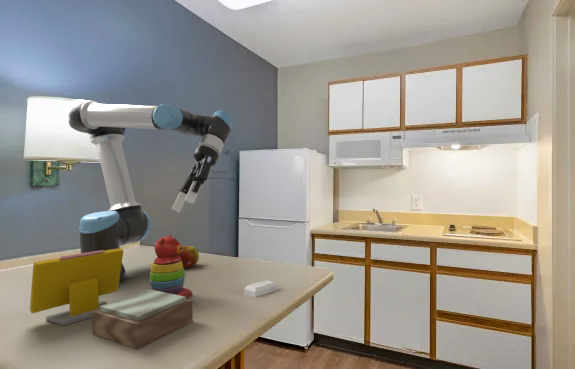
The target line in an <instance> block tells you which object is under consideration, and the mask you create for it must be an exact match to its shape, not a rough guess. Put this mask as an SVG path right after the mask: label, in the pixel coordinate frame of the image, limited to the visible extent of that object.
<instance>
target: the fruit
mask: <svg viewBox="0 0 575 369" xmlns="http://www.w3.org/2000/svg"><path fill="white" fill-rule="evenodd" d="M178 256H179V257H180V258H181V261H182V264H183V268H184V269H189V268H192V267H194V266H195V265H196V264H197V263H198V262H199V259H200V258H199V257H200V255H199V251H198V250H197V249H196V247H194V246H192V245H186V246H182V250H181V252H180V253H179V255H178Z"/></svg>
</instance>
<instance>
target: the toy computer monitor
mask: <svg viewBox="0 0 575 369" xmlns="http://www.w3.org/2000/svg"><path fill="white" fill-rule="evenodd" d="M123 255H124V249H123V248H121V247H120V248H118V249H112V250H105V251H104V250H99V251H93V252H87V253H81V252H80V253H76V254H68V255H63V256H60V257H57V258H51V259H45V260H39V261H34V262H33V263H32V264H33V265H32V276H31V279H32V280H31V289H30V290H31V291H30V304H29V311H30V313H31V314H35V313H39V312H43V311H47V310H50V309H54V308H58V307H63V306H65V305H67V306H68V305H69V310H64V311H61V312H57V313H54V314H50V315H47V316H46V318H45V319H46V321H48V322H51V321H52V322H51V323H54V322H55V324H58V325H62V326H64V325H65V326H67V324H68V325H70V324H71V323H72V324H75V323H78V322H81V320H82V321H85V320H89V319H92V311H95V310H98V309H99V306H101V305H104V304H107V303H108V302H107V301H106V300H102V301H99V300H100V299H99V298H100V297H101V296H104V295H108V294H113V293H116V292H119V285H120V283H119V279H120V272H121V265H122V263H123ZM74 322H75V323H74ZM72 324H71V325H72Z"/></svg>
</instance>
